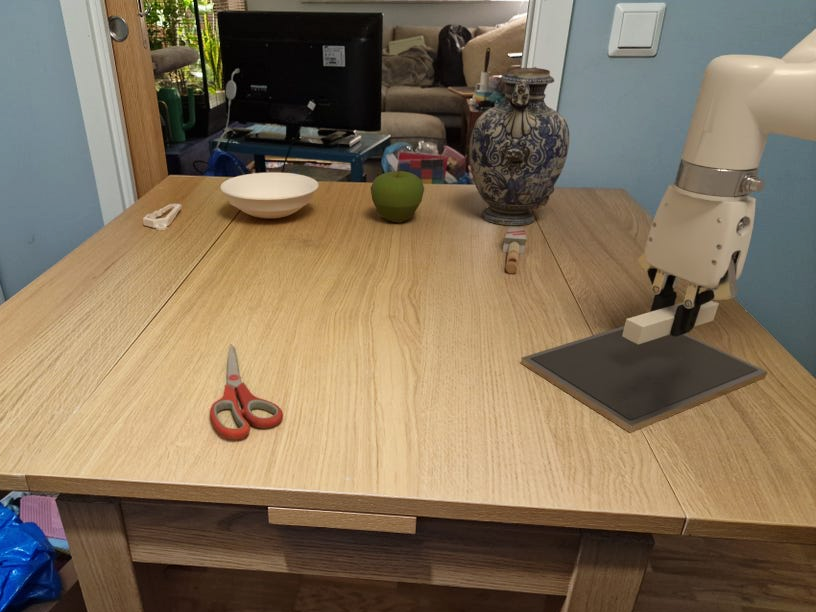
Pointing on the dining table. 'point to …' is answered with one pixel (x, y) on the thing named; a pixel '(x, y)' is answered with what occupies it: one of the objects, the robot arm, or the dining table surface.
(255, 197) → the bowl
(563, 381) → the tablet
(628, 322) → the beige rectangular block
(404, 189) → the apple
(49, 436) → the dining table surface
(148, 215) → the stepped key frame
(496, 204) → the decorative vase
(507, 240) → the paintbrush
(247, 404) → the scissors
